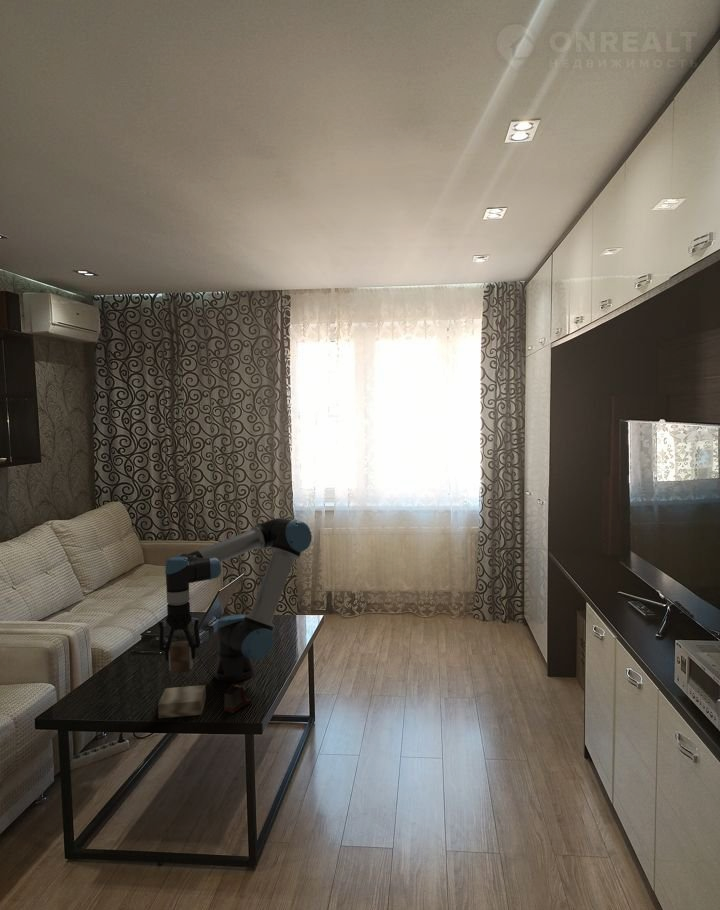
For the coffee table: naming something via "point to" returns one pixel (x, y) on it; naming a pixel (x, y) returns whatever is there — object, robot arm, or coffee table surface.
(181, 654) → the walnut block
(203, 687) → the oak block
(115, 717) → the coffee table surface
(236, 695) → the electronic device
